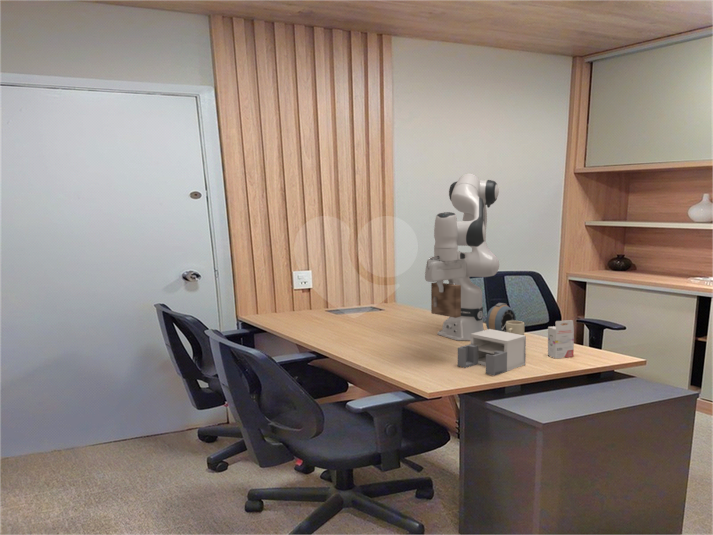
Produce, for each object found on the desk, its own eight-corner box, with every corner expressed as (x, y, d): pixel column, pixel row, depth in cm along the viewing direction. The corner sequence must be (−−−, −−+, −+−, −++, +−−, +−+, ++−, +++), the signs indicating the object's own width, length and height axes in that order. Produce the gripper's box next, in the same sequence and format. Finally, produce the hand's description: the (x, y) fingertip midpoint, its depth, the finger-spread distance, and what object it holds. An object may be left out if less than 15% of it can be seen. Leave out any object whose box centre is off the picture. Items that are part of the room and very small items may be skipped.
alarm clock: (500, 348, 214) (501, 306, 213) (481, 343, 222) (481, 303, 220) (519, 342, 223) (520, 302, 222) (500, 338, 231) (501, 299, 229)
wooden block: (429, 313, 199) (429, 283, 197) (436, 312, 201) (436, 282, 200) (453, 318, 190) (454, 286, 188) (460, 316, 192) (460, 285, 191)
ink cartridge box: (565, 353, 204) (566, 317, 203) (573, 357, 199) (574, 319, 198) (546, 355, 202) (547, 319, 200) (554, 358, 197) (555, 321, 196)
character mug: (512, 349, 211) (512, 318, 210) (528, 352, 207) (529, 321, 205) (500, 355, 203) (500, 323, 202) (517, 358, 198) (517, 325, 197)
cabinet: (457, 366, 190) (457, 337, 189) (489, 356, 202) (489, 328, 201) (494, 375, 177) (494, 344, 176) (525, 364, 190) (525, 335, 189)
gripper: (433, 257, 184) (433, 295, 186) (469, 254, 197) (468, 289, 199) (421, 256, 189) (421, 293, 191) (456, 253, 202) (456, 287, 204)
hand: (445, 291), depth 195 cm, fingers closed on wooden block, 3 cm apart
